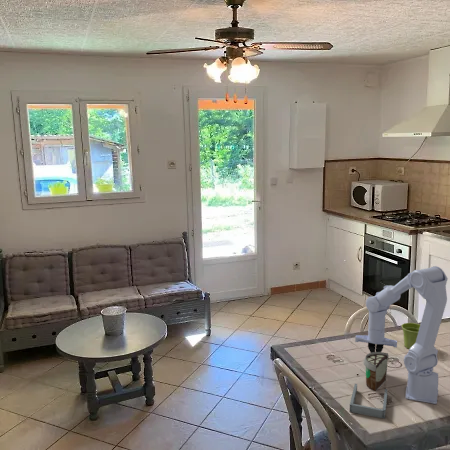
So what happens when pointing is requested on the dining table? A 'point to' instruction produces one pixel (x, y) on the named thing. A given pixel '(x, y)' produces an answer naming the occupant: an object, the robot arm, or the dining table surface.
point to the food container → (376, 369)
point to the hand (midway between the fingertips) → (375, 362)
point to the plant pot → (410, 334)
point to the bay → (367, 410)
